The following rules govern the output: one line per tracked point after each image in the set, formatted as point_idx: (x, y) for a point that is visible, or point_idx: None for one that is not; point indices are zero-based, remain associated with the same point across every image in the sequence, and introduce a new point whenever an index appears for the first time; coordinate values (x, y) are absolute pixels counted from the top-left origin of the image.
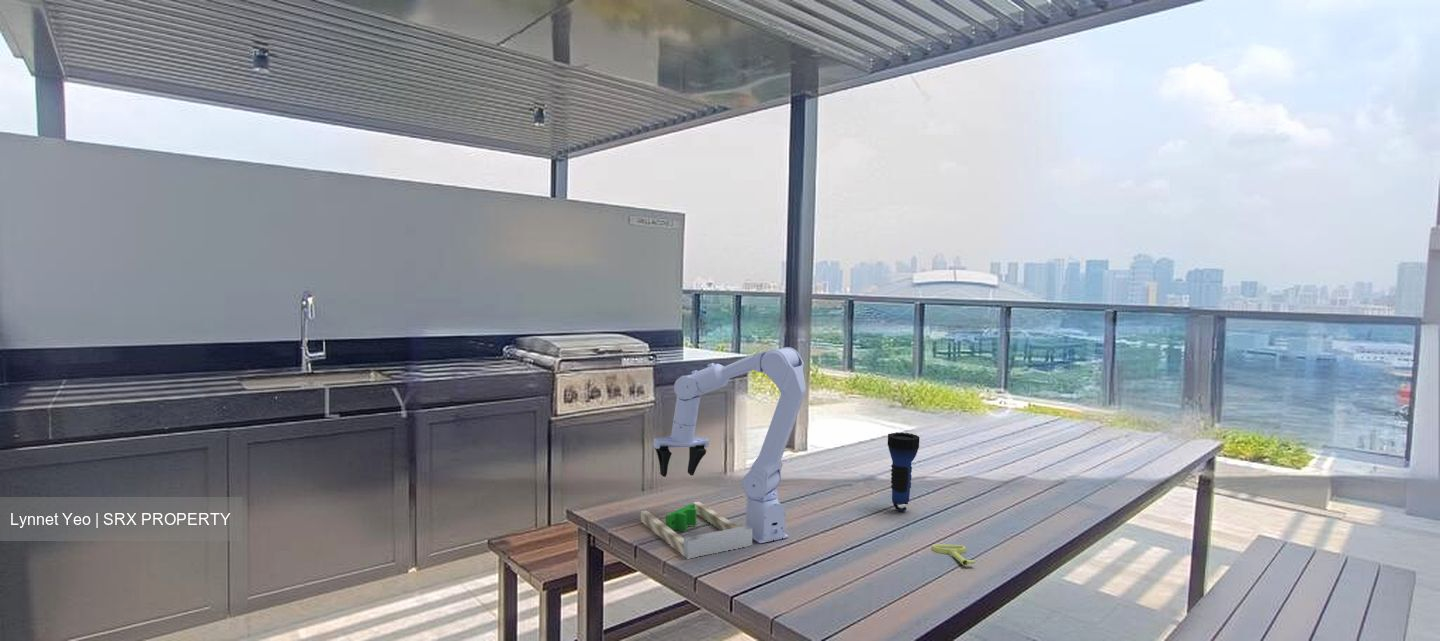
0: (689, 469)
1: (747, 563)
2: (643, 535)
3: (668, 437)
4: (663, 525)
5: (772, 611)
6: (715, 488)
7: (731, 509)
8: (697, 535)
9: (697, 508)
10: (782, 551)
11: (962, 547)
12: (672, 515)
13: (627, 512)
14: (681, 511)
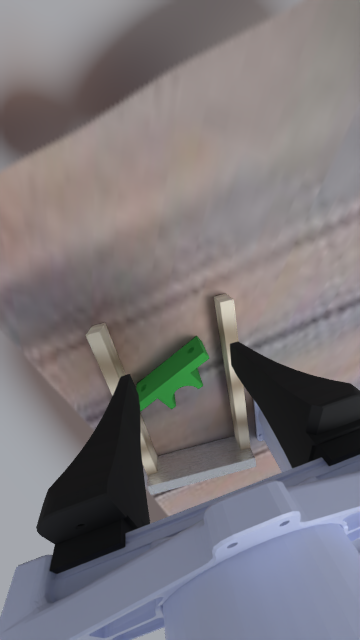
0: (237, 361)
1: (217, 477)
2: (95, 391)
3: (146, 592)
4: None
5: None
6: (347, 100)
7: (292, 298)
8: (169, 481)
9: (220, 318)
10: (270, 456)
11: None
12: (147, 404)
13: (59, 260)
14: (169, 392)
